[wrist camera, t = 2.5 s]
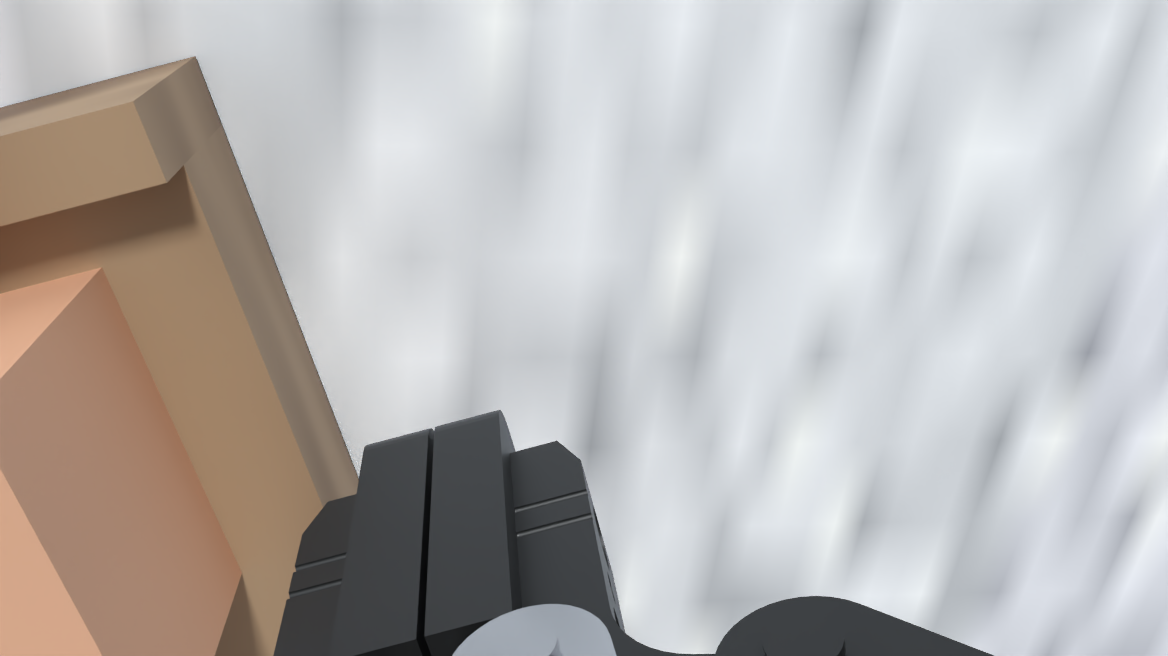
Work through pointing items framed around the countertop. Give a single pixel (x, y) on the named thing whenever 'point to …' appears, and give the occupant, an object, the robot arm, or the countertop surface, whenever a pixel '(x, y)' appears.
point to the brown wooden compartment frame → (184, 304)
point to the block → (98, 490)
